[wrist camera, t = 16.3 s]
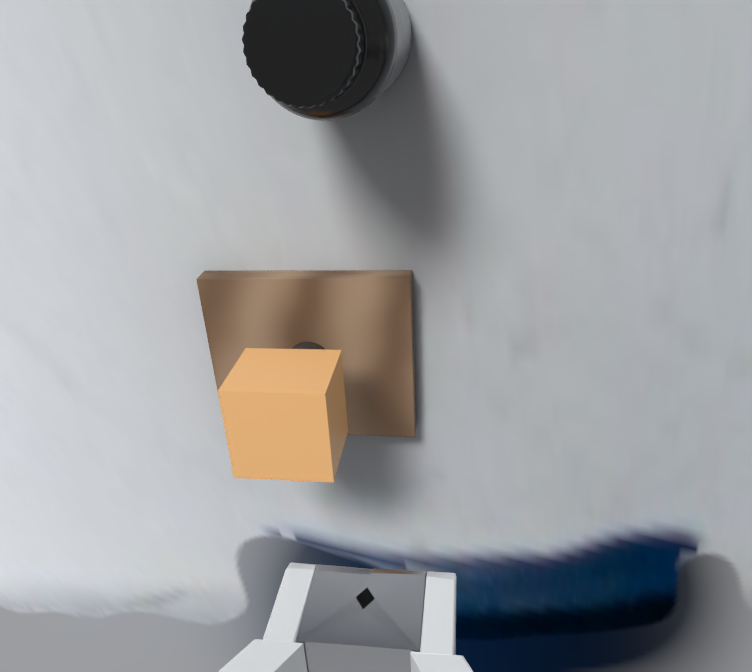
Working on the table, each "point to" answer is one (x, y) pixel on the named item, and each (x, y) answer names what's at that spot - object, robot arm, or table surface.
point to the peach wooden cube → (285, 414)
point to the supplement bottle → (326, 52)
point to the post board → (324, 332)
